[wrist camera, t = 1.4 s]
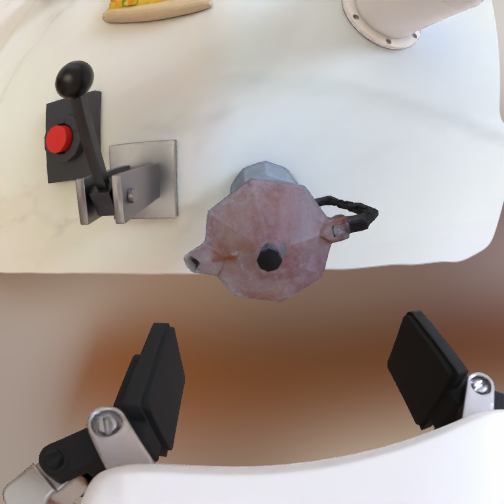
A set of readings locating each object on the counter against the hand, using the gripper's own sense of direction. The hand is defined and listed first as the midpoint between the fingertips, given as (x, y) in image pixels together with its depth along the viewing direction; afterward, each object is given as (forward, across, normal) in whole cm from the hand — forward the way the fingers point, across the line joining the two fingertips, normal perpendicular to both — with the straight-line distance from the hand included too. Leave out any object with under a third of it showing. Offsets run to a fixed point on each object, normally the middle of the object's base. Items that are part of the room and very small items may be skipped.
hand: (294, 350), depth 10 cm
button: (+24, +26, -11) cm, 37 cm away
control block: (+27, +26, -11) cm, 39 cm away
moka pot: (+28, -1, -1) cm, 28 cm away
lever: (+15, +15, -9) cm, 23 cm away
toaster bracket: (+27, +15, -3) cm, 31 cm away
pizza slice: (+28, +13, -36) cm, 47 cm away
